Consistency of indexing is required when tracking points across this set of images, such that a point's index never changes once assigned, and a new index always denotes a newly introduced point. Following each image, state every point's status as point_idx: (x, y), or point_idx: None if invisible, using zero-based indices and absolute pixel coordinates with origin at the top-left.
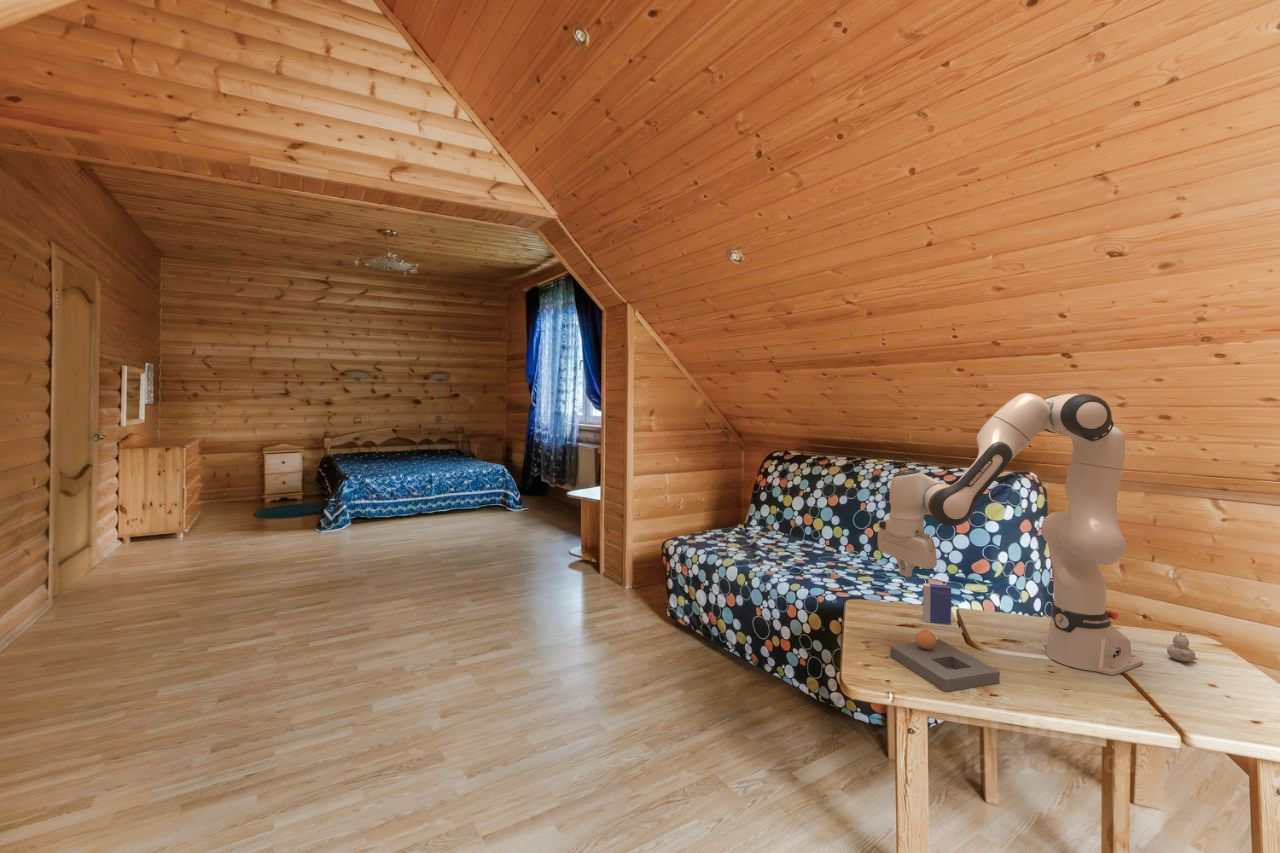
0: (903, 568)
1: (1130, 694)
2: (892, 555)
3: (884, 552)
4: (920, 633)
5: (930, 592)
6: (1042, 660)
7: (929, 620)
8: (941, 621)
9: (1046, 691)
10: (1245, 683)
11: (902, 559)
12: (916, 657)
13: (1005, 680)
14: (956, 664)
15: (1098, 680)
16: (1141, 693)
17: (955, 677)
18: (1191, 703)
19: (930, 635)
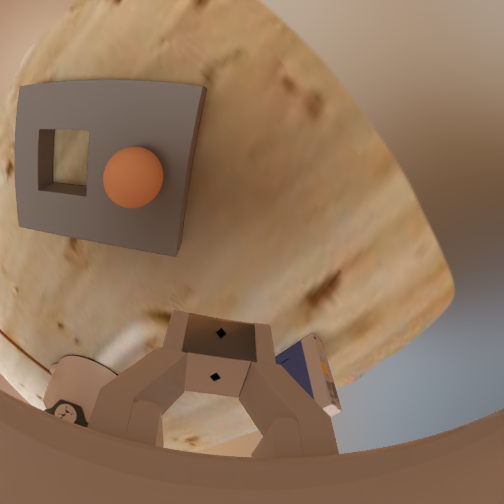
0: (245, 380)
1: (12, 334)
2: (396, 453)
3: (486, 422)
4: (125, 160)
5: (313, 398)
6: (94, 350)
7: (302, 343)
8: (283, 355)
9: (11, 259)
10: None
11: (171, 459)
12: (110, 98)
13: (39, 237)
14: (80, 190)
15: (39, 343)
16: (16, 344)
17: (18, 116)
18: (5, 354)
19: (105, 180)
